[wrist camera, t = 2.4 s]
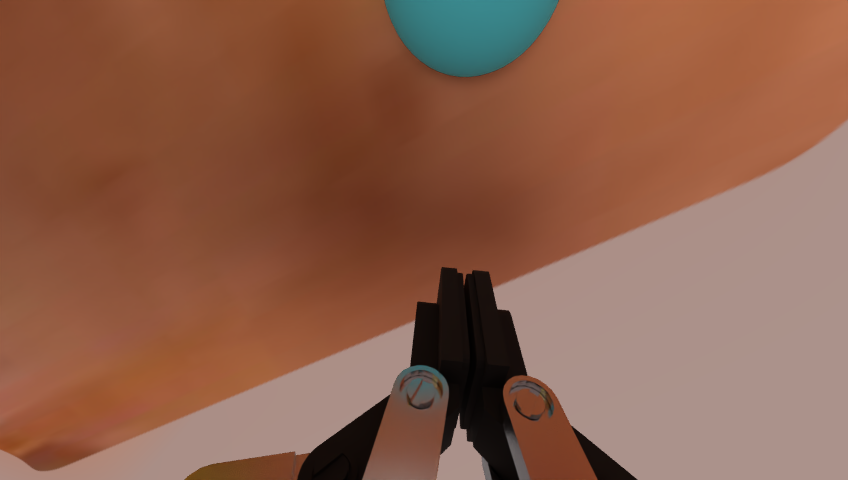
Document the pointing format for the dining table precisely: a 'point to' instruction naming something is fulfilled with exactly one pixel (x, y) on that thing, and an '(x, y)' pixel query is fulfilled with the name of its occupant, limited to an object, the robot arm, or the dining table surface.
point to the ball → (469, 31)
